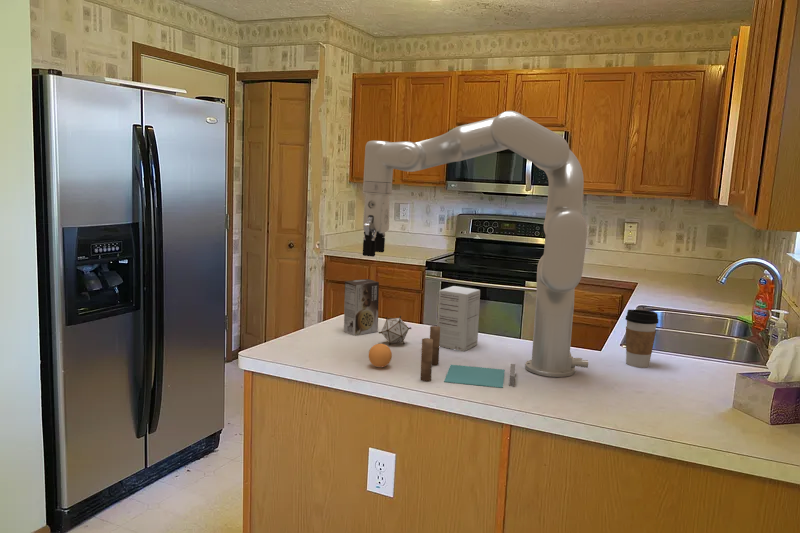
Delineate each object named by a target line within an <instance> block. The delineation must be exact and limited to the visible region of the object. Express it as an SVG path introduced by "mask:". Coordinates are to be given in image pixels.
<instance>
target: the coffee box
mask: <svg viewBox="0 0 800 533" xmlns="http://www.w3.org/2000/svg"><path fill="white" fill-rule="evenodd" d="M379 284H380V282H379V281H375V280H373V279H369V278H364V279H362V278H361V279H354V280H345V281H344V300H343V301H344V306H343V307H344V308H343V309H344V311H343V313H344V314H343V315H344V316H343V332H344V333H347V334H349V335H352V336H354V335H355V336H361V335H365V334H371V333H377V332H378V333H379V298H380V296H379V293H380V290H379V287H380V286H379Z"/></svg>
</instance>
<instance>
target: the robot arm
mask: <svg viewBox="0 0 800 533" xmlns="http://www.w3.org/2000/svg"><path fill="white" fill-rule="evenodd" d="M505 150H510V151H511V152H512V153H513V152H514V153H515V154H516V155H519V156H520V157H522V158H524V159H526V160H527V161H529V162H532V163H533V165H534V166H535V167H537V168H538V169H539V170H542V171H544V173H545V174H546V177H547V180H548V189H547V190H548V191H547V203H546V210H545V211H546V212H545V217H544V222H543V231H544V234H545V239H544V249H543V254H542V256H541V257H540V259H539V260H538V263H537V269H536V293H535V294H536V296H535V297H536V298H535V310H534V322H533V323H534V324H533V325H534V326H533V336H532V337H533V338H532V351H531V359H529V360H527V361H526V362H525V363H524V365H525V366H524V367H525V369H526V370H527V371H529V372H530V373H532V374H536V375H540V376H544V377H548V378H549V377H550V378H564V377H565V378H566V377H570V376H572V375H575V372H576V367H578V368H579V367H580V368H583V369H584V368H586V369H589V360H588V359H583V358H581V357H574V356H572V353H571V345H572V344H571V343H572V342H571V341H572V335H573V334H572V332H573V331H572V330H573V320H574V319H573V318H574V311H575V309H574V308H575V307H574V306H575V290H576V289H575V288H576V287H578V285H579V284H580V281H581V280H582V276H583V271H584V263H585V255H586V247H587V239H588V228H587V227H588V226H587V221H586V219H585V217H584V216H583V215H582V210H583V203H584V202H583V200H584V185H585V184H584V183H585V182H584V181H585V180H584V179H585V178H584V177H585V176H584V172H583V168H582V164H581V163H580V161H579V159H578V157H577V156H576V155H575V153H574V152H573V151H572V150H571V149H570V146H569V144H568V142H567V140H566V139H565V138H564V137H563V136H561V135H560V134H558V133H556V132H555V131H553V130H551V129H549V128H547V127H545V126H543V125H541V123H540V124H539V123H538V122H536V121H534V120H532V119H530V118H529V117H527V116H526V115H523V114H522V113H520V112H518V111H515V110H506V111H502V112H501V113H499V114H498V115H497V116H493V117H490V118H486V119H483V120H479V121H478V120H477V121H475V122H470V123H468V124H467V123H465V124H462V125H459V126H456V127H454V128H452V129H451V130H449V131H447V132H445V133H443V134H441V135H438V136H435V137H432V138H429V139H428V138H427V139H423V140H420V141H416V142H413V141H409V140H408V141H406V140H405V141H394V142H392V141H387V140H369V141H367V142H366V144H365V150H364V165H363V166H364V167H363V168H364V169H363V185H362V194H363V195H365V200H364V207H363V210H364V211H363V221H362V222H363V224H362V227H363V228H362V229H363V230H362V231H363V237H362V238H363V241H362V256H364V257H372V258H373V257H375V256H376V252H377V253H384V252H385V246H386V244H385V243H386V238H385V237H386V233H387V232H388V231H389V230H390V196H392V190H393V176H394V175H393V174H394V170H399V171H402V172H403V171H404V172H413V173H414V172H418V171H422V170H426V169H430V168H434V167H438V166H441V165H446V164H450V163H455V162H461V161H462V162H463V161H465V160H469V159H473V158H477V157H482V156H485V155H488V154H489V155H490V154H493V153H497V152H501V151H505Z"/></svg>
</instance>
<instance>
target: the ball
mask: <svg viewBox="0 0 800 533" xmlns="http://www.w3.org/2000/svg"><path fill="white" fill-rule="evenodd" d="M392 356H393V353H392V350H391V347H389V345H386V344H384V343H376V344H374V345H373V346H371V348H370V349H369V351H368V361H369V362H370V363H371V364H372V365H373V366H374V367H376V368H383V367H386V366H388V365H389V364H390V362H391V361H392Z"/></svg>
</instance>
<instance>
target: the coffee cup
mask: <svg viewBox="0 0 800 533" xmlns="http://www.w3.org/2000/svg"><path fill="white" fill-rule="evenodd" d="M658 316H659V315H658V313H657V312H654V311H651V310H644V309H627V312H626V315H625V320H626V326H625V345H626V346H625V349H626V350H625V354H626V355H625V356H626V358H625V363H626V364H627V365H628V366H631V367H634V368H641V369H643V368H644V369H645V368H648V367H650V364H651V359H652V358H651V357H652V353H653V348H654V343H655V338H656V334H657V324H659V317H658Z"/></svg>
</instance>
